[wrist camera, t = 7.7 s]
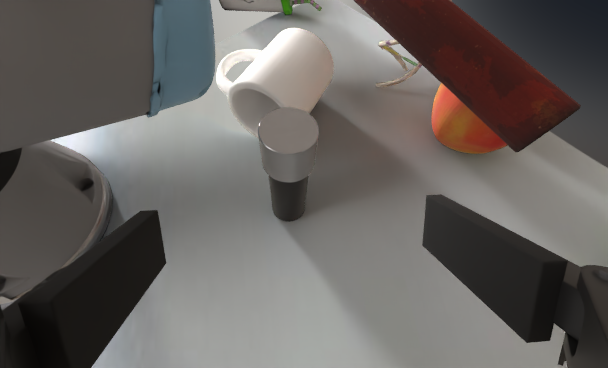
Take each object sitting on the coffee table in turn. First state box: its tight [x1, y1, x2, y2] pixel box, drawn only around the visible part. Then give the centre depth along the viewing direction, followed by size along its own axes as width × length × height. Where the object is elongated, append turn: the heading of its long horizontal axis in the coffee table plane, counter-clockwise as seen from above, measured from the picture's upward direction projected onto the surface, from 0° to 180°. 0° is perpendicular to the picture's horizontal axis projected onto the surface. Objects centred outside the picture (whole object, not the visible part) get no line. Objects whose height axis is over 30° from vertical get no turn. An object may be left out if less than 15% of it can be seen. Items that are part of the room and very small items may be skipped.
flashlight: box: [258, 107, 319, 221], centre depth 24 cm, size 4×4×12 cm
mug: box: [216, 28, 334, 138], centre depth 32 cm, size 12×10×8 cm
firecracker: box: [354, 0, 580, 152], centre depth 27 cm, size 5×5×30 cm
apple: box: [432, 83, 507, 154], centre depth 30 cm, size 10×10×10 cm
